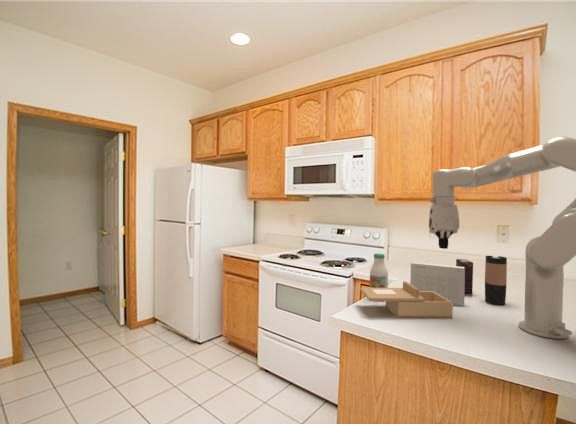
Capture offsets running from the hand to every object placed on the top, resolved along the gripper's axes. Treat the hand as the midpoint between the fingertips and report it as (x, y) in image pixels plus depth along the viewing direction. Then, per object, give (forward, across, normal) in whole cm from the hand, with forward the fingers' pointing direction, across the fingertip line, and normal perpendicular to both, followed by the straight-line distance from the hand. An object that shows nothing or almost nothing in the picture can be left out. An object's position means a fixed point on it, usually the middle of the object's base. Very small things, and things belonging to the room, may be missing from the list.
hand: (443, 248), depth 116 cm
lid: (+18, -21, +1) cm, 28 cm away
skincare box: (+25, +5, +14) cm, 29 cm away
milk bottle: (+25, -20, +17) cm, 36 cm away
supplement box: (+25, +24, +25) cm, 43 cm away
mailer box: (+25, -10, 0) cm, 27 cm away
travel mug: (+26, +29, +11) cm, 40 cm away
